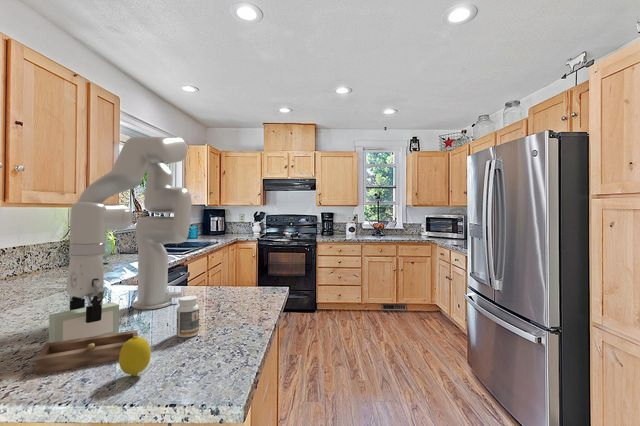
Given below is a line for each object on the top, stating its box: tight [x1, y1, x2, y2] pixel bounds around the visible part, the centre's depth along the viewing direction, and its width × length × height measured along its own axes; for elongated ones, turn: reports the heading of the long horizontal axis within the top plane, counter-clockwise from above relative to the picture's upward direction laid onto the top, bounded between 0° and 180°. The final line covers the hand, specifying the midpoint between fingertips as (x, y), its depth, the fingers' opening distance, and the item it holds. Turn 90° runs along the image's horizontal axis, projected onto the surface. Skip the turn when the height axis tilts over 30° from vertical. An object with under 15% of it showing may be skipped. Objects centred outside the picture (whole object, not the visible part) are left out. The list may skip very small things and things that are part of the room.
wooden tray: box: [35, 329, 139, 376], centre depth 74 cm, size 18×10×4 cm, turn 121°
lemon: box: [118, 335, 152, 377], centre depth 65 cm, size 6×6×8 cm
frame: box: [48, 301, 120, 343], centre depth 83 cm, size 14×4×8 cm, turn 146°
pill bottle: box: [175, 295, 200, 338], centre depth 88 cm, size 6×6×10 cm
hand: (84, 318), depth 82 cm, fingers open, 9 cm apart
